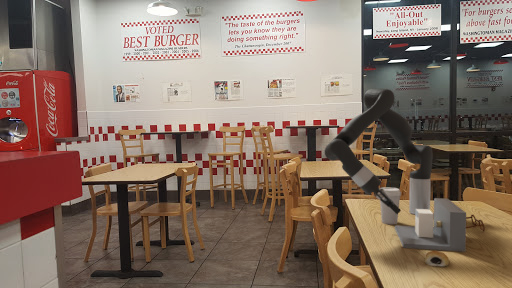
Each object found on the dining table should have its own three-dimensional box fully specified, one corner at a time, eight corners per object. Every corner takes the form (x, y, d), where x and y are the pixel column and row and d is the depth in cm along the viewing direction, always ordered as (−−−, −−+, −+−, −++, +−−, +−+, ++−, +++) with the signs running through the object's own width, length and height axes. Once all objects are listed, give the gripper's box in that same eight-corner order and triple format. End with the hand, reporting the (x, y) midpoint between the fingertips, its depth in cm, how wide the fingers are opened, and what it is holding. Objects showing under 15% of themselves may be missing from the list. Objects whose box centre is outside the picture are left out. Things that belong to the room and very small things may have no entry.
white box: (414, 231, 146) (414, 208, 146) (429, 232, 145) (429, 209, 145) (418, 236, 140) (418, 213, 139) (433, 237, 138) (433, 213, 138)
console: (394, 228, 156) (395, 196, 155) (446, 231, 151) (447, 198, 151) (403, 247, 133) (403, 210, 132) (465, 251, 128) (466, 212, 127)
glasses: (485, 233, 150) (485, 221, 149) (450, 232, 152) (450, 220, 152) (473, 224, 163) (473, 213, 162) (440, 223, 165) (441, 212, 165)
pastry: (426, 255, 125) (427, 244, 125) (449, 259, 122) (450, 248, 122) (424, 265, 117) (424, 253, 117) (448, 269, 114) (449, 257, 114)
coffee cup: (400, 220, 169) (400, 187, 168) (401, 226, 160) (401, 191, 159) (378, 218, 172) (378, 186, 171) (378, 224, 163) (378, 190, 162)
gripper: (374, 175, 139) (409, 209, 136) (371, 170, 151) (403, 201, 149) (359, 189, 140) (393, 223, 138) (358, 183, 153) (389, 214, 151)
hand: (398, 212), depth 144 cm, fingers closed
